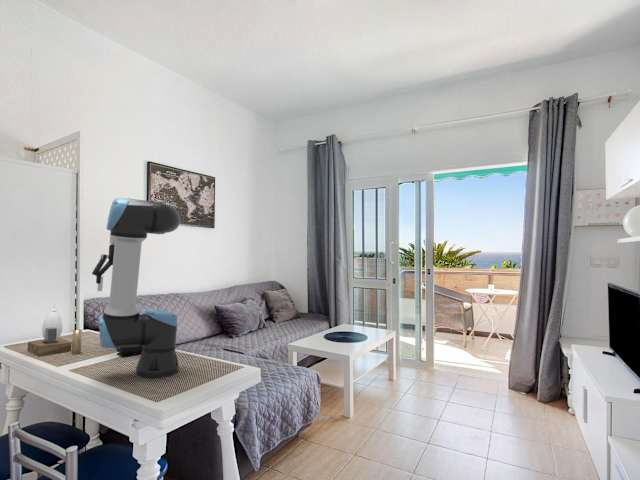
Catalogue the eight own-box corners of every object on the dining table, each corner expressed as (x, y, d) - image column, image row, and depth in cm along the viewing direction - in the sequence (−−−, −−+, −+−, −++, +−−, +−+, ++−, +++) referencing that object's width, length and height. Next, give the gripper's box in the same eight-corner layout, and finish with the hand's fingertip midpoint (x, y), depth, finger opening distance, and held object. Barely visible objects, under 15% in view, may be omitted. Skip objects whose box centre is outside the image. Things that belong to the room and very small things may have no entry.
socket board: (70, 351, 165) (71, 342, 165) (38, 356, 155) (39, 346, 155) (58, 346, 172) (59, 337, 172) (27, 351, 162) (28, 341, 162)
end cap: (121, 358, 160) (122, 342, 160) (114, 354, 164) (116, 339, 164) (145, 354, 167) (146, 339, 167) (138, 351, 172) (139, 336, 172)
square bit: (54, 351, 164) (56, 328, 164) (46, 352, 161) (48, 329, 162) (52, 350, 166) (54, 327, 166) (43, 351, 163) (45, 328, 163)
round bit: (81, 353, 163) (83, 330, 163) (73, 355, 160) (75, 331, 160) (78, 352, 164) (80, 329, 165) (70, 353, 162) (71, 330, 162)
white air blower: (40, 341, 179) (43, 303, 180) (59, 339, 184) (62, 302, 185) (42, 344, 173) (45, 305, 174) (62, 342, 179) (65, 304, 179)
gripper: (139, 245, 188) (136, 288, 187) (86, 242, 167) (82, 290, 166) (148, 246, 184) (144, 289, 183) (94, 243, 163) (90, 292, 162)
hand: (115, 290), depth 174 cm, fingers open, 13 cm apart
